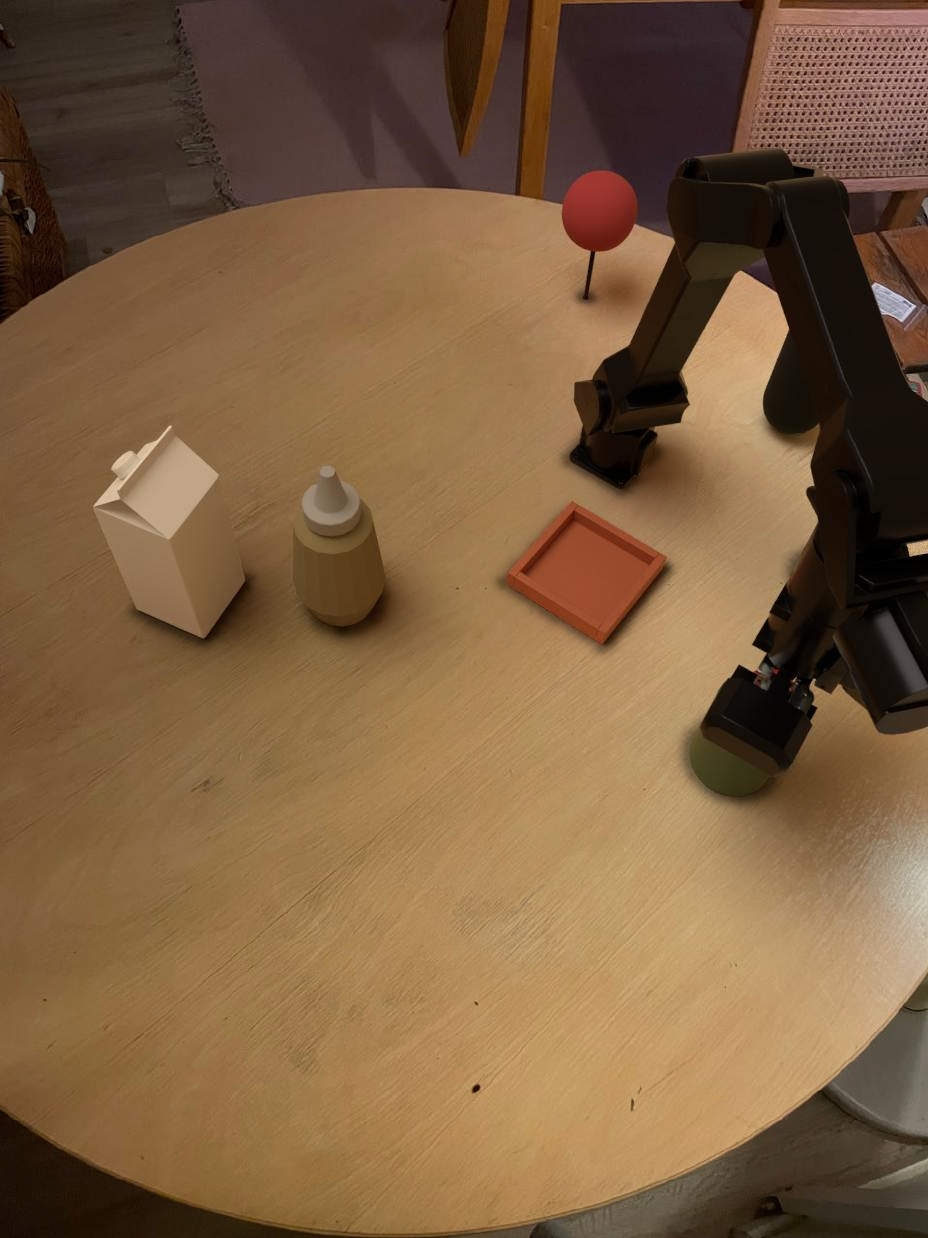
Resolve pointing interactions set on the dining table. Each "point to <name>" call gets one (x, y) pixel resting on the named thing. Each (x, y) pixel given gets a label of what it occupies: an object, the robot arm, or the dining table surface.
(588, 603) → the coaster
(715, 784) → the bottle
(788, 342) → the decorative object
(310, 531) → the squeeze bottle
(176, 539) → the milk carton
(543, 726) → the dining table surface
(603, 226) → the lollipop
